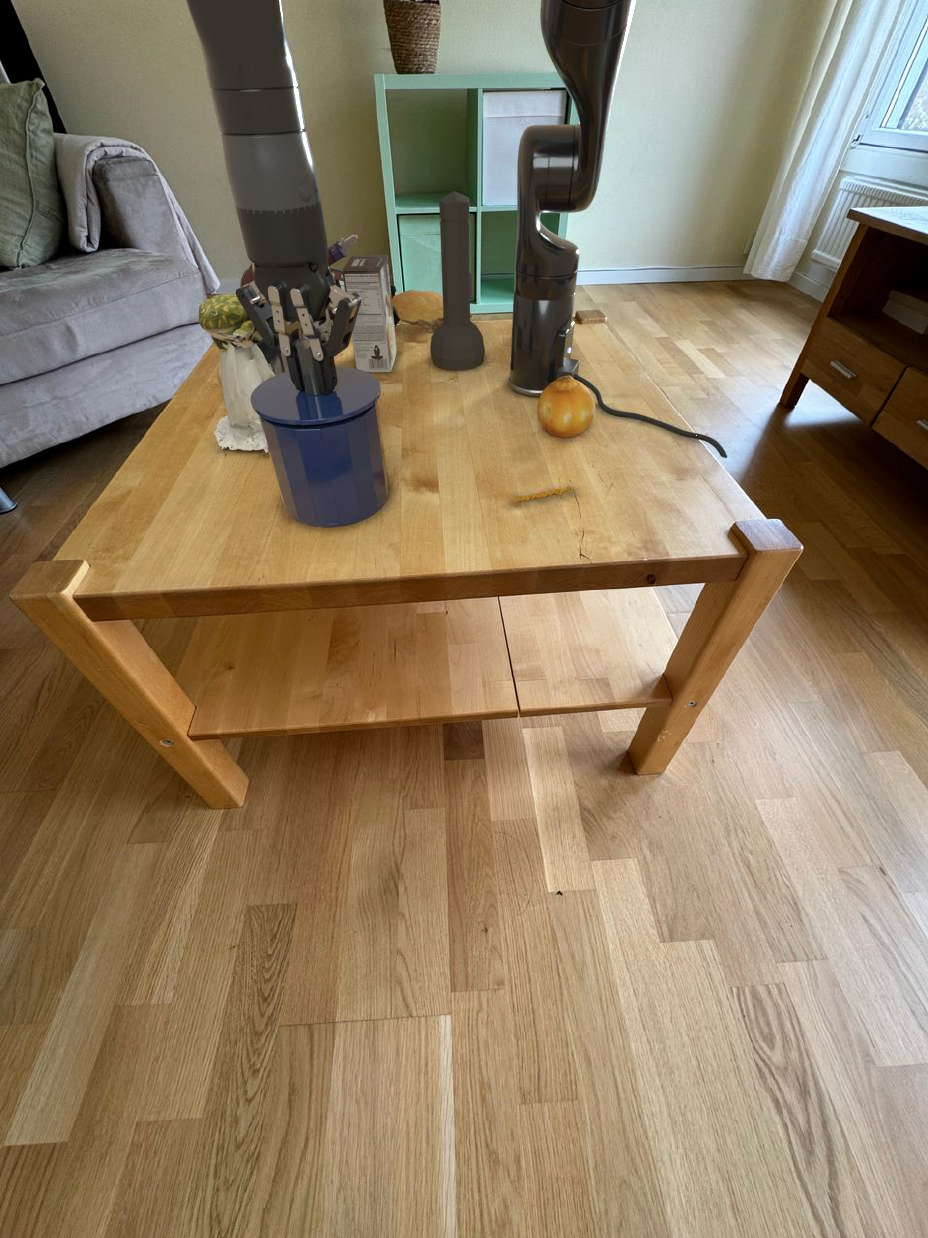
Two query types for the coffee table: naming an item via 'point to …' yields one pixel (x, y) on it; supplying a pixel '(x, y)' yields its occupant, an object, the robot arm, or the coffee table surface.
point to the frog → (236, 370)
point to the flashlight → (456, 291)
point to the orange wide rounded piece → (420, 308)
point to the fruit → (565, 407)
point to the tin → (330, 468)
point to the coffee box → (372, 312)
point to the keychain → (544, 494)
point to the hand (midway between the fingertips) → (315, 388)
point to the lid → (314, 394)
